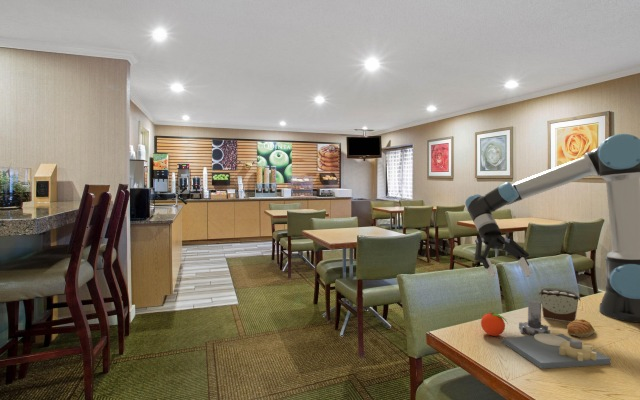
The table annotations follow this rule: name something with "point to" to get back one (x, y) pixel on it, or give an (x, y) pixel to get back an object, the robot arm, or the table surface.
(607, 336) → the table surface
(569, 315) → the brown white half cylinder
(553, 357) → the gear board
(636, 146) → the robot arm
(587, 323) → the pastry
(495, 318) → the clementine
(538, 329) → the gear
